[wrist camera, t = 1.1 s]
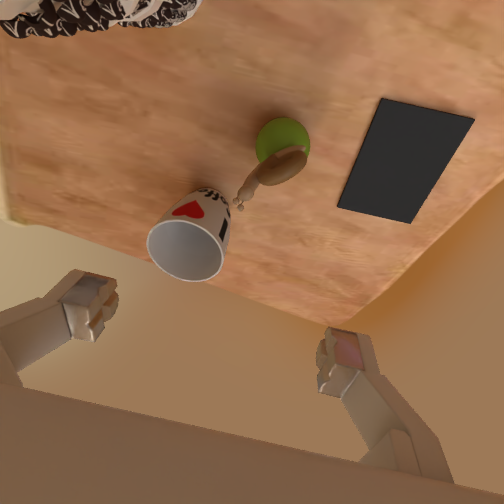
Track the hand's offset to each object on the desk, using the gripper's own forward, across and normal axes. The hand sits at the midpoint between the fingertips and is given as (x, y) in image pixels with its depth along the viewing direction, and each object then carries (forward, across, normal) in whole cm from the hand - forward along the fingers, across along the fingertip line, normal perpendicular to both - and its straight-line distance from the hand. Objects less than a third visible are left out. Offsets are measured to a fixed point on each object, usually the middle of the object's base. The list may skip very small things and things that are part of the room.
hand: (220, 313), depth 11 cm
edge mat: (+25, -14, 0) cm, 29 cm away
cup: (+26, +6, +10) cm, 29 cm away
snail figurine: (+26, -1, 0) cm, 26 cm away
